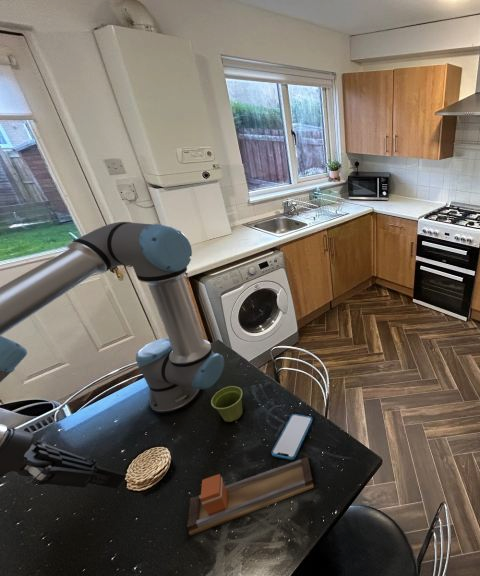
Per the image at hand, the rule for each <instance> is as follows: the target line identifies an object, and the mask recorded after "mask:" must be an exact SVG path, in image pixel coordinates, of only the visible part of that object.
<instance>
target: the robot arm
mask: <svg viewBox="0 0 480 576" xmlns="http://www.w3.org/2000/svg"><path fill="white" fill-rule="evenodd" d="M192 249H193V248H192V245H191V242H190V241H189V239H188V237H187V236H186V235H185V233H183V232H182V231H181V230H178V228H175V227H172V226H167V225H164V224H158V223H154V224H152V223H142V222H131V221H117V222H113V223H108V224H105V225H103V226H100V227H97V228H96V229H94V230H91V231H89V232H87V233H85V234H84V235H81V236H79V237H78V238H75V239H74V240H72V241H70V242H68V243H67V244H66V250H64V251H62V252H61V253H59V254H57V255H55V256H53V257H51V258H50V259H47V260H46V261H45V262H43V263H40V264H39V265H37V266H36V267H34V268H32V269H30V270H28V271H26V272H24V273H23V274H21V275H20V276H17V277H15V278H14V279H12V280H10V281H9V282H7V283H5V284H3V285H2V286H0V383H2V381H4V380H5V379H6V378H7V377H9V375H10V374H12V373H13V372H14V371H15V369H16V368H17V366H18V365H19V364H20V363H21V362H22V361H23V360H24V359H25V358H26V356H27V355H28V350H27V349H26V347H25V346H23V345H21V344H20V343H18V342H16V341H14V340H12V339H9V338H6V337H4V336H3V335H4V334H6V333H7V332H8V331H10V330H12V329H13V328H14V327H16V326H18V325H19V324H20V323H22V322H24V321H25V320H26V319H29V318H30V317H31V316H32V315H35V314H36V313H38V312H39V311H40V310H42V309H43V308H45V307H47V306H48V305H50V304H51V303H52V302H54V301H56V300H57V299H59V298H60V297H62V296H63V295H65V294H66V293H68V292H70V291H71V290H72V289H74V288H75V287H77V286H79V285H81V283H84V281H86V280H88V279H90V277H92V276H94V275H95V274H99V275H102V274H105V273H106V272H108V271H109V270H111V269H113V268H116V267H120V266H121V267H122V266H128V267H132V268H133V270H134V273H135V276H136V278H137V280H138V281H140V282H142V283H144V284H146V285H147V287H148V290H149V292H150V295H151V298H152V300H153V302H154V305H155V308H156V310H157V314H158V316H159V318H160V321H161V323H162V326H163V329H164V331H165V334H166V337H165V338H159V339H156V340H153V341H151V342H149V343H147V344H145V345H144V346H143V347H142V348H141V349H139V350H138V351H137V352H136V355H135V361H136V365H137V367H138V368H139V370H140V372H141V374H142V376H143V378H144V380H145V382H146V384H147V386H148V388H149V398H148V399H149V406H150V408H151V409H152V411H153V412H154V413H156V414H161V415H163V414H172V413H176V412H179V411H181V410H183V409H184V408H186V407H188V406H189V405H190V404H192V403H193V402H194V401H195V400H196V399H197V398H198V396H199V395H200V391H201V390H207V389H210V388H211V387H213V386H214V385H215V384H216V383H217V382H218V380H219V379H220V377H221V375H222V373H223V371H224V367H225V359H224V356H223V355H222V354H220V353H217V352H216V353H215V352H214V351H213V348H212V344H211V342H210V341H208V340H206V339H204V337H203V334H202V330H201V327H200V324H199V321H198V317H197V315H196V312H195V309H194V306H193V302H192V299H191V296H190V293H189V290H188V287H187V284H186V280H185V278H184V275H185V274H186V273H187V271H188V266H189V265H190V263H191V260H192V259H191V257H192V255H193V250H192ZM34 441H35V436H34V434H33V433H32V432H28V431H25V430H23V429H18V428H16V427H10V428H8V426H7V425H5V424H3V423H0V478H2V477H3V476H5V475H6V474H8V473H11V472H15V473H17V474H18V475H19V476H23V477H35V478H34V479H32V481H31V483H32V484H33V485H36V486H40V485H51V486H53V485H54V486H64V487H77V488H86V487H87V485H88V484H93V485H96V486H102V487H106V488H111V489H116V490H117V489H118V488H119V486H120V485H121V484H122V483H123V482H124V480H125V479H126V477H127V474H126V473H125V472H123V471H120V470H117V469H111V468H107V467H104V466H100V465H96V464H97V462H98V460H97V459H95V458H93V459H92V460H91V461H90V460H89V458H88V457H85V456H81V455H79V454H75V453H72V452H71V451H67V450H64V449H61V448H59V447H56V446H53V445H50V444H48V443H46V442H44V441H43V440H37V441H36V442H35V443H34Z"/></svg>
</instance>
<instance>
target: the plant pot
mask: <svg viewBox="0 0 480 576" xmlns="http://www.w3.org/2000/svg"><path fill="white" fill-rule="evenodd" d="M243 394H244V393H243V390H242V388H240V387H239V386H234V385H229V386H226V387H223V388H222V389H220V390H218V391H216V392H215V393H214V395H213V396H212V397H211V400H210V404H211V407H212V408H214V409H216V410H217V412H218V413H219V415H220V416H221V418H222V419H223V421H224V422H227V423H232V422H233V421H237V420H238V419H240V418H241V416H242V415H243V403H242V397H243Z"/></svg>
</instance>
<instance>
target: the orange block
mask: <svg viewBox="0 0 480 576" xmlns="http://www.w3.org/2000/svg"><path fill="white" fill-rule="evenodd" d="M225 486H226V485H225V483H224V479H223V476H221V473H219V474H216V475H212V476H209V477H207V478H203V479H202V480H201V490H200V495H201V498H200V499H201V501H202V505H204V507H205V509H206V511H207V513H208V515H209V516H210V515H212V514H215V513H218V512H220V511H223V510H226V509H228V492H227V490H226V487H225Z"/></svg>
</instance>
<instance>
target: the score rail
mask: <svg viewBox="0 0 480 576" xmlns="http://www.w3.org/2000/svg"><path fill="white" fill-rule="evenodd" d="M225 487H226V490H227V492H228V509H226V510H223V511H220V512H218V513H215V514H212V515H210V516H209V515H208V513H207V511H206V509H205V507H204V505H202V501H201V499H200V498H201V494H199V495H196V496H193V497H190V500H189V508H188V516H187V523H186V528H187V530H188V535H189V536H190V537H191V536H193V535H195V534H199V533H200V532H203V531H206V530H209V529H211V528H213V527H217V526H219V525H221V524H224V523H226V522H229V521H232V520H234V519H237V518H239V517H242V516H245V515H247V514H250V513H253V512H255V511H258V510H260V509H262V508H265V507H268V506H270V505H273V504H275V503H278V502H280V501H283V500H285V499H288V498H291V497H293V496H296V495H298V494H301V493H304V492H306V491H309V490H311V489H314V488H315V487H314V481H313V476H312V471H311V466H310V460H309V457H308V456H306V457H304V458H301V459H297V460H295V461H292V462H289V463H287V464H285V465H280V466H278V467H275V468H272V469H270V470H267V471H263V472H260V473H258V474H256V475H252V476H250V477H247V478H244V479H241V480H239V481H235V482H232V483H230V484H227V485H225Z"/></svg>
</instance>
